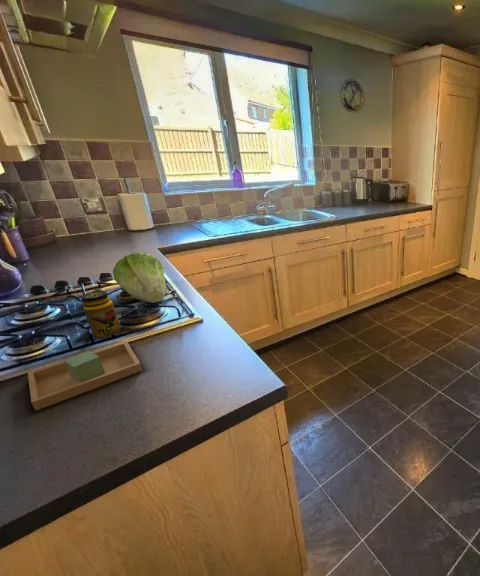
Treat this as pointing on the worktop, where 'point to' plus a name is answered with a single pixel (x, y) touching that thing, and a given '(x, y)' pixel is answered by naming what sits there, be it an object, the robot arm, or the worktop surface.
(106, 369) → the tray
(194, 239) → the worktop surface
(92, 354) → the block
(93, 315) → the condiment
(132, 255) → the lettuce
